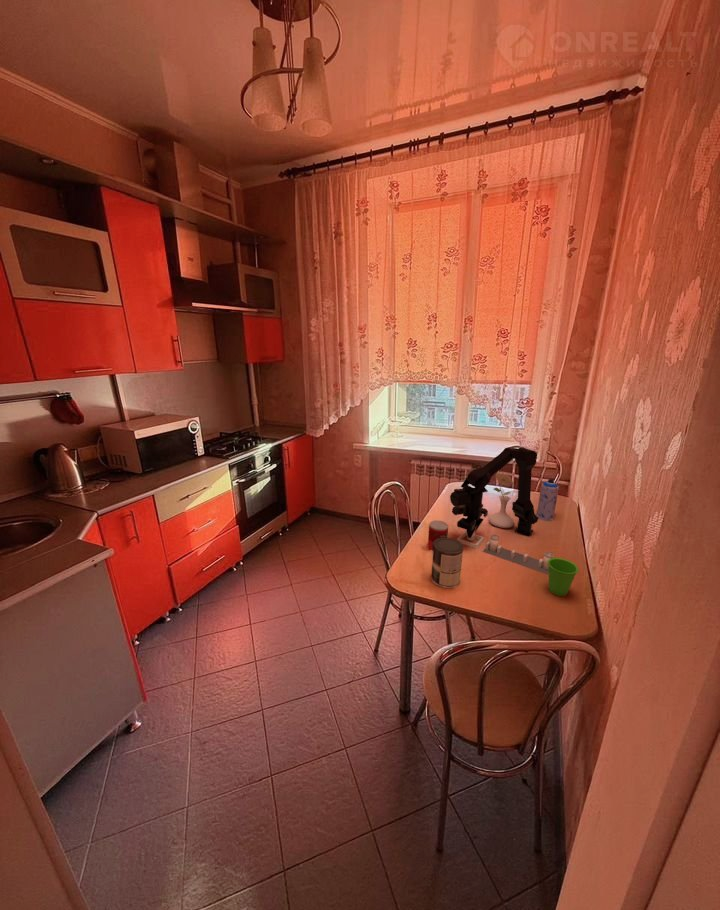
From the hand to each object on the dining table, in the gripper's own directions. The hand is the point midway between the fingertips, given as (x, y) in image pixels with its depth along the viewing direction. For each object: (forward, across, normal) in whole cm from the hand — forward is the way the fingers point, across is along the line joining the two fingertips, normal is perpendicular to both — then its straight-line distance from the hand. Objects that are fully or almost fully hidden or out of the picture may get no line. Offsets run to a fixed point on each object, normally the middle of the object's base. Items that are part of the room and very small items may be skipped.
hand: (471, 536), depth 152 cm
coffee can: (+4, +30, +3) cm, 30 cm away
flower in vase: (+4, -26, +4) cm, 27 cm away
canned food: (+4, +13, -9) cm, 16 cm away
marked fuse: (+1, 0, 0) cm, 1 cm away
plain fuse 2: (+2, +1, +30) cm, 30 cm away
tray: (+3, 0, 0) cm, 3 cm away
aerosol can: (+4, -47, +19) cm, 51 cm away
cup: (+4, +13, +36) cm, 38 cm away
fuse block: (+3, +1, +20) cm, 20 cm away
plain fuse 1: (+2, +1, +10) cm, 10 cm away
